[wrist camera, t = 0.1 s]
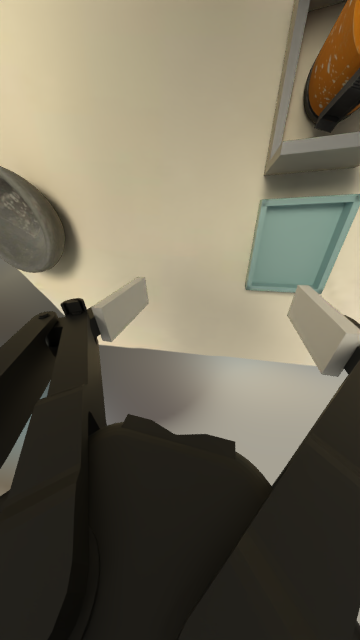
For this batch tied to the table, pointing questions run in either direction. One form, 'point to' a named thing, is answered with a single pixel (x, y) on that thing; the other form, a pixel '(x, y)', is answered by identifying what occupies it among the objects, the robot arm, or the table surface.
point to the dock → (292, 153)
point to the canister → (336, 72)
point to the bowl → (28, 226)
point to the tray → (298, 241)
